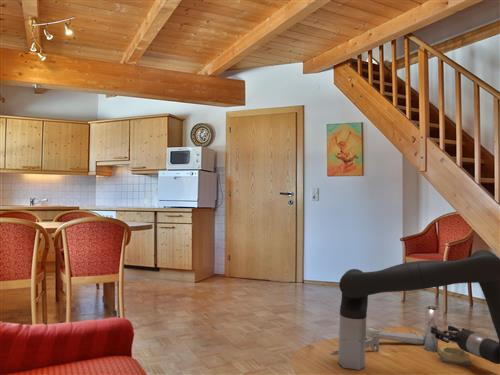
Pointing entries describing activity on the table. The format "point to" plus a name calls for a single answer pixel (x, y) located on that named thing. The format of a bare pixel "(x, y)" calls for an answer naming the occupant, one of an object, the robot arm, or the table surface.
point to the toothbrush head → (395, 336)
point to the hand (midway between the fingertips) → (439, 328)
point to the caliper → (368, 343)
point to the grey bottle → (430, 321)
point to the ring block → (454, 355)
